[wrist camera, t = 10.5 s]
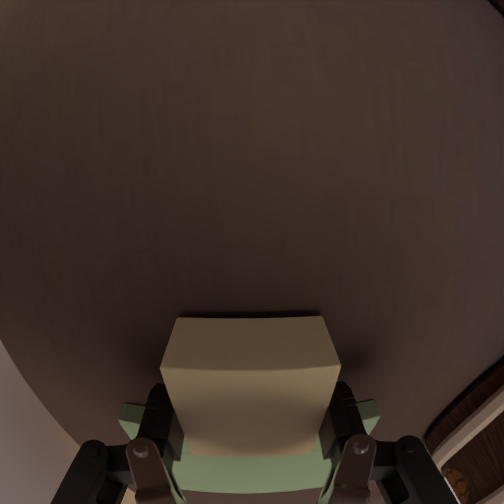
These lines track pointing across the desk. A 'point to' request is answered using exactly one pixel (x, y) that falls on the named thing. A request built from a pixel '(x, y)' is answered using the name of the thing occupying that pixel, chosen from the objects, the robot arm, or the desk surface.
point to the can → (499, 4)
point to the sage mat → (249, 463)
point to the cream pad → (250, 383)
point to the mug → (473, 442)
